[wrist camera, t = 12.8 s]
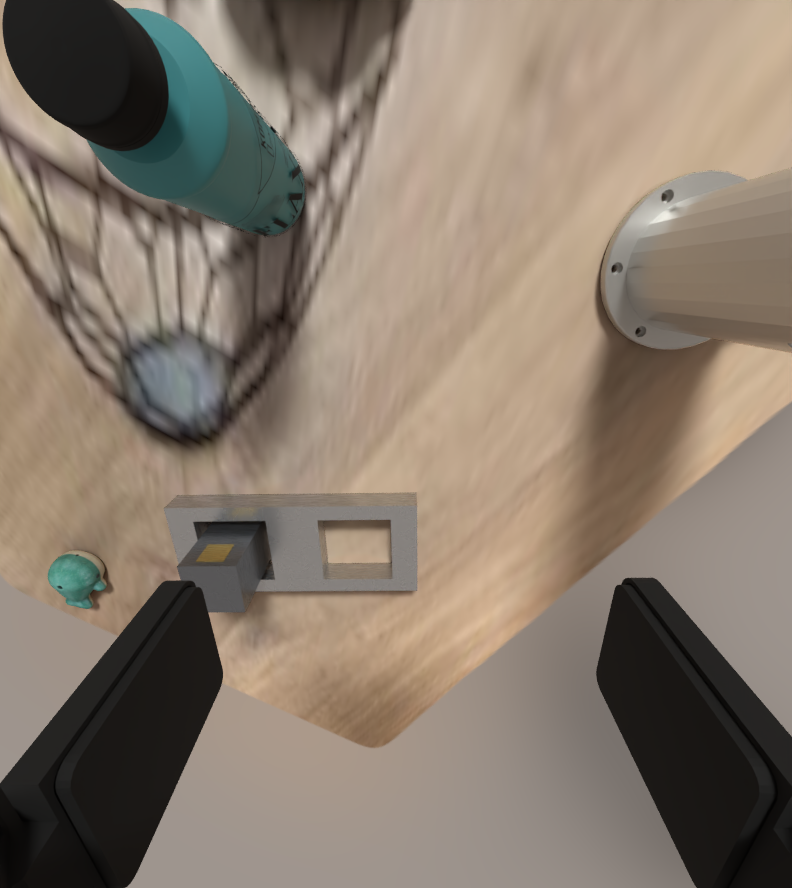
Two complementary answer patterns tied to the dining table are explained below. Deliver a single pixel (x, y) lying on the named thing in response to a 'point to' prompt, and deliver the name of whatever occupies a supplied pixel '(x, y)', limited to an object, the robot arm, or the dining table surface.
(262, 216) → the beverage bottle
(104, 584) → the whale figurine
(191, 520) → the rail
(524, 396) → the dining table surface
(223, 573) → the block
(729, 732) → the robot arm
